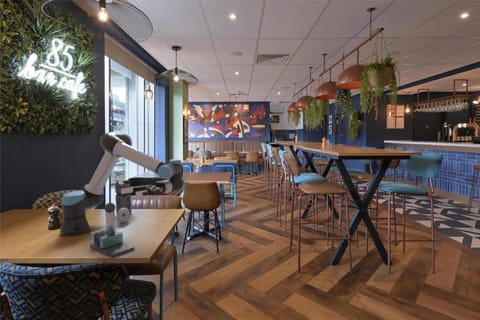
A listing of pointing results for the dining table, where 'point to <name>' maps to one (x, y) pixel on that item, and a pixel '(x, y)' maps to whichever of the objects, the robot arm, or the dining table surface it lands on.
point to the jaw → (110, 228)
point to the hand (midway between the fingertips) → (128, 193)
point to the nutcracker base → (111, 250)
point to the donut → (120, 213)
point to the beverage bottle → (122, 196)
